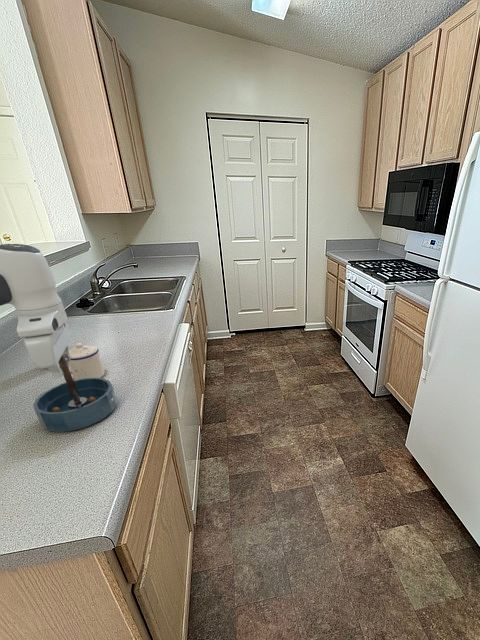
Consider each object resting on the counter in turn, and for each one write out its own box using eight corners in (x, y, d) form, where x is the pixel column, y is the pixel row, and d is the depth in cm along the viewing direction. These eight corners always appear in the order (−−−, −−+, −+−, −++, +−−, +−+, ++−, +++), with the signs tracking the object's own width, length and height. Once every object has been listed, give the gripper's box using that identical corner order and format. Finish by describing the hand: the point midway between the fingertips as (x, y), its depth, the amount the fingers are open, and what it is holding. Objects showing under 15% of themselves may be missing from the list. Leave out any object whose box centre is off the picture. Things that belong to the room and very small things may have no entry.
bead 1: (55, 417, 89) (48, 413, 87) (56, 411, 90) (49, 408, 88) (61, 413, 89) (55, 410, 87) (62, 407, 90) (56, 404, 88)
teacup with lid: (105, 367, 114) (95, 336, 109) (106, 378, 107) (95, 345, 101) (64, 376, 109) (51, 344, 103) (62, 388, 102) (48, 354, 96)
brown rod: (70, 417, 87) (44, 355, 79) (73, 408, 91) (49, 348, 83) (89, 413, 89) (66, 351, 81) (91, 404, 93) (69, 345, 84)
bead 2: (96, 402, 94) (89, 405, 93) (92, 396, 94) (85, 399, 92) (99, 401, 93) (92, 404, 92) (95, 394, 93) (88, 398, 91)
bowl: (34, 441, 80) (24, 421, 77) (51, 403, 94) (43, 385, 92) (114, 422, 86) (108, 403, 83) (119, 389, 100) (113, 372, 98)
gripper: (39, 306, 85) (57, 354, 92) (13, 333, 68) (37, 390, 75) (67, 303, 87) (83, 350, 94) (49, 328, 71) (70, 384, 77)
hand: (63, 368), depth 84 cm, fingers open, 8 cm apart
